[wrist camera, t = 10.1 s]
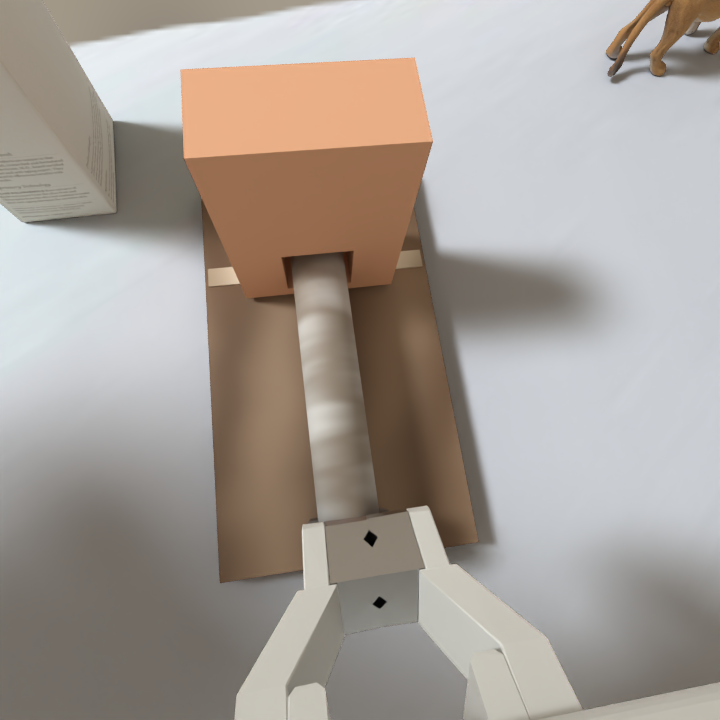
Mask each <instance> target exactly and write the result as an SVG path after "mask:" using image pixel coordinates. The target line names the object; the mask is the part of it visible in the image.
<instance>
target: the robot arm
mask: <svg viewBox="0 0 720 720" xmlns="http://www.w3.org/2000/svg"><path fill="white" fill-rule="evenodd" d="M302 549H303V576H304V589H303V590H298V591H297V592H296V594H295V596H294V597H293V599H292V601H291V603H290V604H289V606H288V608H287V609H286V611H285V613H284V615H283V616H282V618H281V620H280V621H279V623H278V625H277V627H276V628H275V630H274V632H273V634H272V635H271V637H270V639H269V640H268V642H267V644H266V646H265V647H264V649H263V651H262V652H261V654H260V656H259V658H258V659H257V661H256V663H255V664H254V666H253V668H252V670H251V671H250V673H249V675H248V676H247V678H246V680H245V682H244V683H243V685H242V687H241V688H240V690H239V692H238V694H237V695H236V706H235V717H234V720H331V718H330V712H329V707H328V701H327V696H326V690H325V686H326V684H327V681H328V679H329V676H330V674H331V671H332V668H333V666H334V663H335V661H336V658H337V655H338V653H339V650H340V648H341V645H342V643H343V640H344V635H347V634H352V633H357V632H361V631H366V630H371V629H375V628H380V627H387V626H393V625H400V624H407V623H413V622H418V624H419V625H420V626H421V627H422V628H423V630H424V631H425V632H426V633H427V634H428V635H429V637H430V638H431V639H432V640H433V641H434V642H435V643H436V645H437V646H438V647H439V648H440V649H441V650H442V651H443V653H444V654H445V655H446V656H447V657H448V658H449V660H450V661H451V662H452V663H453V664H454V665H455V666H456V668H457V669H458V670H459V671H460V672H461V673H462V675H463V676H464V677H465V678H466V679H467V680H468V682H467V690H466V698H465V706H464V714H463V720H720V682H717V683H712V684H707V685H702V686H698V687H693V688H688V689H683V690H678V691H674V692H669V693H664V694H659V695H654V696H649V697H645V698H640V699H635V700H630V701H625V702H621V703H616V704H611V705H606V706H601V707H597V708H592V709H587V710H583V709H582V707H581V705H580V703H579V701H578V699H577V697H576V695H575V693H574V691H573V689H572V687H571V685H570V683H569V681H568V679H567V677H566V675H565V673H564V671H563V669H562V667H561V665H560V663H559V661H558V659H557V657H556V655H555V652H554V650H553V648H552V646H551V644H550V642H549V640H548V638H547V637H546V636H545V635H543V634H542V633H541V632H540V631H538V630H537V629H536V628H535V627H534V626H532V625H531V624H530V623H529V622H527V621H526V620H525V619H524V618H523V617H521V616H520V615H519V614H518V613H516V612H515V611H514V610H513V609H511V608H510V607H509V606H508V605H507V604H505V603H504V602H503V601H502V600H500V599H499V598H498V597H497V596H496V595H494V594H493V593H492V592H491V591H489V590H488V589H487V588H486V587H484V586H483V585H482V584H481V583H480V582H478V581H477V580H476V579H475V578H473V577H472V576H471V575H470V574H469V573H467V572H466V571H465V570H464V569H462V568H461V567H460V566H459V565H457V564H451V565H450V563H449V560H448V557H447V554H446V552H445V549H444V546H443V543H442V541H441V538H440V535H439V533H438V530H437V527H436V524H435V522H434V519H433V516H432V514H431V511H430V508H429V507H428V506H421V507H414V508H408V509H400V510H394V511H388V512H382V513H376V514H370V515H365V516H362V517H354V518H346V519H338V520H331V521H325V524H324V522H317V523H310V524H303V526H302Z"/></svg>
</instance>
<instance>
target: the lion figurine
mask: <svg viewBox="0 0 720 720" xmlns="http://www.w3.org/2000/svg"><path fill="white" fill-rule="evenodd" d="M667 10H668V14H667V18H666V22H665V28H664V32H663V35H662V38H661V40H660V42H659V44H658V45H657V47H656V48H655V49H654V50H653V51H652V52H651V53H650V71H651V72H652V74H654V75H657V76H661V75H663V74H664V72H665V71H666V64H665V63H664V62H663V61H661V59H662V57H663V55H664V54H665V53H666V51H667V50H668V49H669V48H670V47H671V46H672V45H673V44H674V43H675V42H676V41H677V40H678V39H680V38H681V37H682V36H683V35H684V34H687V35H689V34H691V33H693V32H694V31H696V29H697V28H698V26H699V25H700V23H701V22H710V21H714V20H716V19H718V18H720V0H650V2H649V3H648V4H647V5H646V7H645V8H644V9H643V10H642V11H641V12H640V14H639V15H638V16H637V17H636V18H635V19H634V20H633V21H632V22H631V23H629V24H628V25H626V26H625V27H624V28H622V29H621V30H620V31H619V33H618V34H617V36H616V38H615V39H614V41H613V42H612V43H611V45H610V46H609V47H608V49H607V50H606V54H607V55H608V56H609V57H611V58H617V57H618V58H617V60H616V61H615V63H614V64H613V65H612V66H611V67H610V69H609V71H608V76H609V77H611V76H613V75H615V73H616V72H617V71H618V70H619V69H620V67H621V66H622V64H623V61H624V58H625V56H626V54H627V52H628V51H629V49H630V47H631V45H632V44H633V42H634V41H635V39H636V38H637V37H638V35H639V34H640V32H641V31H642V29H643V28H644V27H645V25H646V24H647V23H648V22H649V21H651V20H652V19H654V18H655V17H657V16H659V15H660V14H662V13H664V12H665V11H667ZM626 39H627V40H626ZM625 40H626V42H625V44H624V46H623V48H622V46H621V45H622V44H623V42H624V41H625ZM719 42H720V27H719V28H718V29H717V30H716V31H715V32H714V34H712V35H711V36H710V37H709V38H708V39H707V41H706V43H705V44H704V49H705V50H706V51H707V52H709V53H711V54H715V53H717V51H718V50H719Z"/></svg>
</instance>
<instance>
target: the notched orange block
mask: <svg viewBox="0 0 720 720" xmlns="http://www.w3.org/2000/svg"><path fill="white" fill-rule="evenodd" d="M181 94H182V121H183V149H184V160H185V162H186V164H187V167H188V169H189V171H190V173H191V176H192V178H193V180H194V182H195V184H196V187H197V189H198V191H199V193H200V196H201V198H202V200H203V202H204V205H205V207H206V209H207V211H208V213H209V216H210V218H211V220H212V222H213V225H214V227H215V229H216V231H217V234H218V236H219V238H220V240H221V242H222V245H223V247H224V249H225V251H226V254H227V256H228V258H229V260H230V263H231V265H232V267H233V269H234V271H235V274H236V276H237V278H238V280H239V283H240V285H241V287H242V289H243V291H244V294H245V296H246V298H256V297H266V296H277V295H287V294H294V286H293V276H292V267H291V257H290V256H301V255H312V254H323V253H334V252H343V256H344V263H345V270H346V277H347V285H348V288H357V287H367V286H377V285H387V284H391V283H392V280H393V276H394V273H395V270H396V266H397V263H398V259H399V256H400V252H401V249H402V246H403V242H404V239H405V235H406V232H407V228H408V225H409V222H410V218H411V215H412V211H413V208H414V204H415V201H416V198H417V194H418V191H419V187H420V184H421V180H422V177H423V174H424V170H425V167H426V163H427V160H428V156H429V153H430V149H431V146H432V143H433V140H432V135H431V130H430V126H429V121H428V117H427V112H426V107H425V103H424V98H423V93H422V89H421V84H420V79H419V75H418V70H417V66H416V61H415V58H399V59H380V60H360V61H340V62H321V63H301V64H281V65H261V66H242V67H222V68H202V69H182V70H181Z"/></svg>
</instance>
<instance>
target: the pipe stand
mask: <svg viewBox="0 0 720 720" xmlns="http://www.w3.org/2000/svg"><path fill="white" fill-rule="evenodd" d="M201 199H202V198H201ZM202 219H203V240H204V261H205V282H206V303H207V324H208V345H209V365H210V386H211V407H212V428H213V449H214V470H215V490H216V511H217V532H218V553H219V574H220V583H223V582H230V581H236V580H242V579H249V578H255V577H261V576H268V575H274V574H280V573H287V572H293V571H299V570H303V549H302V526H303V524H310V523H317V522H324V524H325V521H331V520H338V519H346V518H354V517H362V516H365V515H370V514H376V513H382V512H388V511H394V510H400V509H408V508H414V507H421V506H428V507H429V508H430V511H431V514H432V516H433V519H434V522H435V524H436V527H437V530H438V533H439V535H440V538H441V541H442V543H443V546H444V548H445V547H451V546H458V545H464V544H470V543H477V542H479V541H478V536H477V531H476V526H475V521H474V515H473V510H472V505H471V500H470V495H469V490H468V484H467V479H466V474H465V469H464V464H463V458H462V453H461V448H460V443H459V438H458V433H457V427H456V422H455V417H454V412H453V407H452V402H451V396H450V391H449V386H448V381H447V376H446V371H445V365H444V360H443V355H442V350H441V345H440V339H439V334H438V329H437V324H436V319H435V314H434V308H433V303H432V298H431V293H430V288H429V283H428V277H427V272H426V267H425V262H424V257H423V251H422V246H421V241H420V236H419V231H418V226H417V220H416V215H415V210H414V208H413V211H412V215H411V218H410V222H409V225H408V228H407V232H406V235H405V239H404V242H403V246H402V249H401V252H400V256H399V259H398V263H397V266H396V270H395V273H394V276H393V280H392V283H391V284H387V285H377V286H367V287H357V288H348V285H347V277H346V270H345V263H344V256H343V252H334V253H323V254H312V255H301V256H290V257H291V267H292V276H293V286H294V294H287V295H277V296H266V297H256V298H246V296H245V294H244V291H243V289H242V287H241V285H240V283H239V280H238V278H237V276H236V274H235V271H234V269H233V267H232V265H231V263H230V260H229V258H228V256H227V254H226V251H225V249H224V247H223V245H222V242H221V240H220V238H219V236H218V234H217V231H216V229H215V227H214V225H213V222H212V220H211V218H210V216H209V213H208V211H207V209H206V207H205V205H204V202H203V200H202Z"/></svg>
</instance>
